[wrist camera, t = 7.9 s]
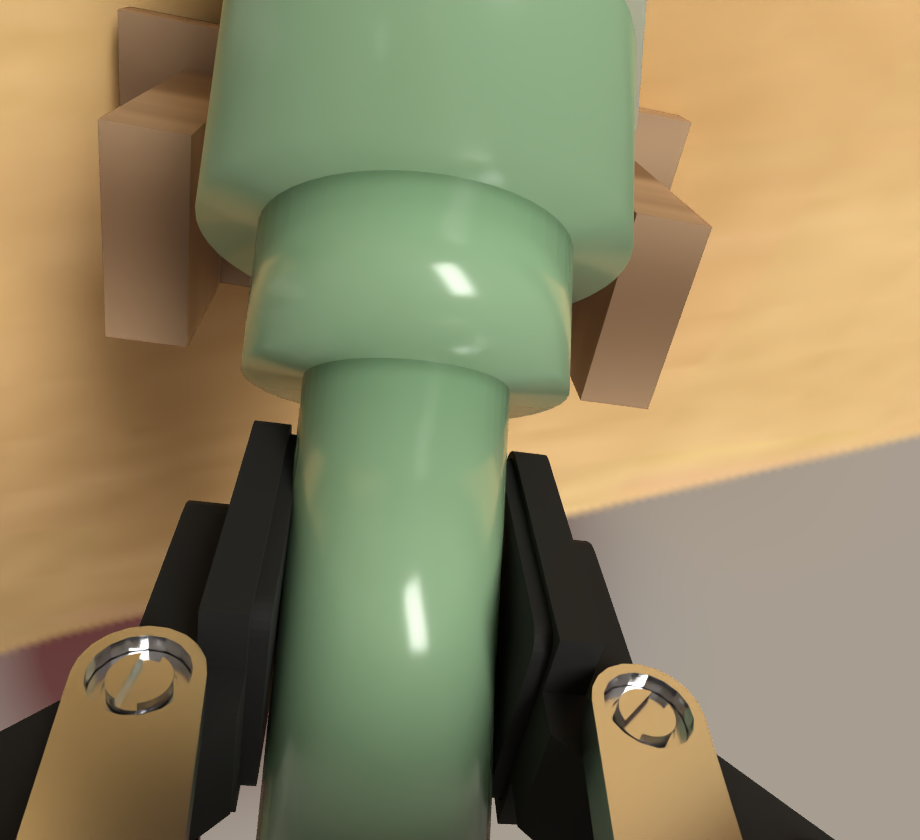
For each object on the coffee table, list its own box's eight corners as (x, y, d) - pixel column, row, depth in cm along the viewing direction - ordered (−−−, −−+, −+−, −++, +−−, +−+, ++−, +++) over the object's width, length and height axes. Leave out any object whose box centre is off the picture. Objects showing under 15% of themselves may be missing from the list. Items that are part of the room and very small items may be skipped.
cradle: (130, 6, 19) (-5, 35, 12) (679, 115, 21) (805, 187, 15) (133, 247, 22) (25, 372, 15) (615, 321, 24) (697, 456, 18)
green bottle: (230, -659, 12) (-39, 939, 7) (659, -766, 10) (650, 1045, 6) (354, -242, 17) (247, 786, 13) (639, -282, 16) (628, 827, 12)
